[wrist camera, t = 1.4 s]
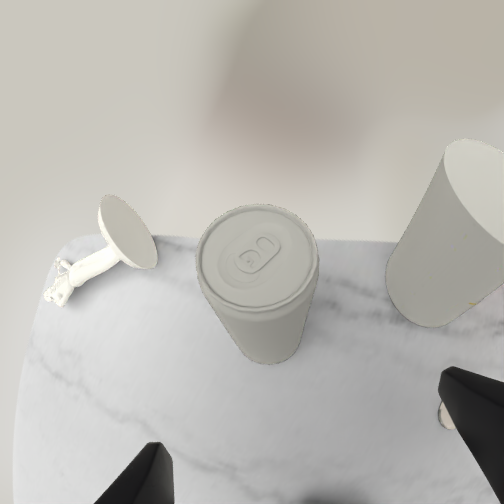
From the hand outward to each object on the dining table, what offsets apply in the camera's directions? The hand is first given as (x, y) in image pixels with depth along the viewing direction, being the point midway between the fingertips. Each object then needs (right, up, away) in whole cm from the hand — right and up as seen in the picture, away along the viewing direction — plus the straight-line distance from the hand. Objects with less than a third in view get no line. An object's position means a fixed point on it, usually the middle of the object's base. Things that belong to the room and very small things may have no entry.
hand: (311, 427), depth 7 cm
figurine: (-11, +7, +15) cm, 20 cm away
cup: (+13, +3, +15) cm, 20 cm away
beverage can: (0, -1, +14) cm, 14 cm away
